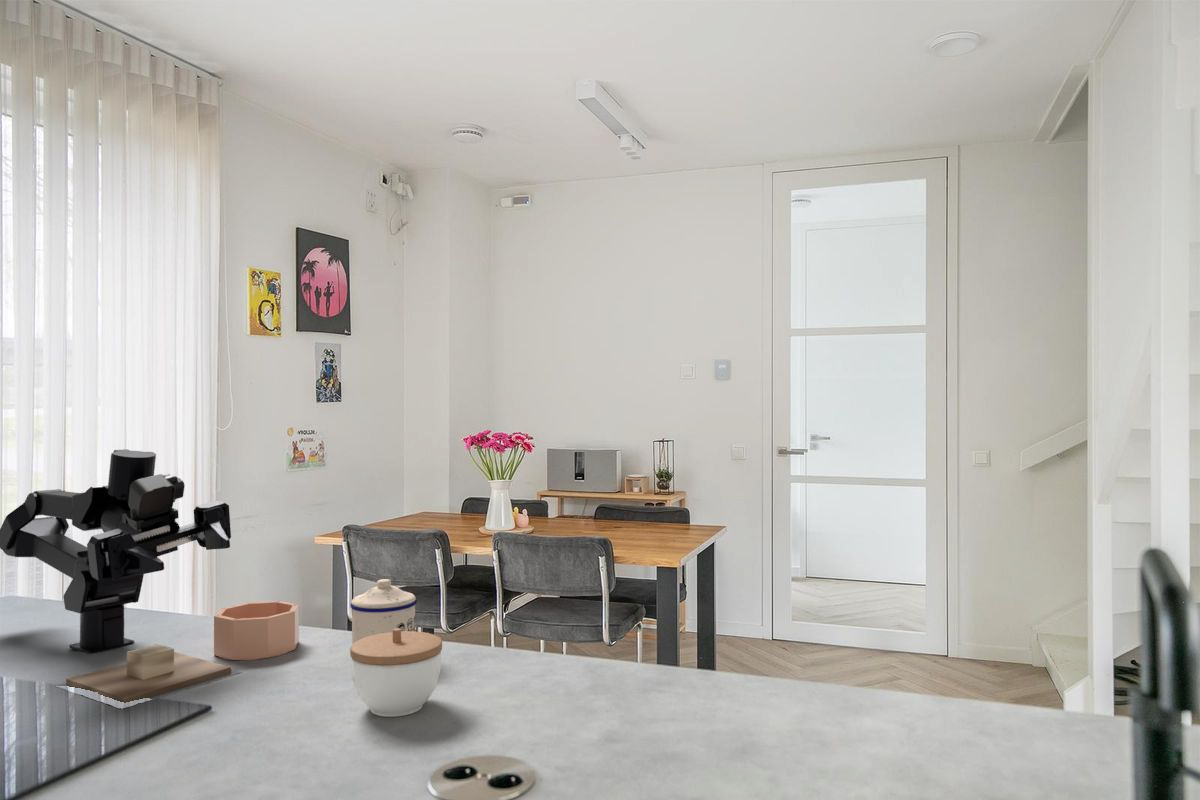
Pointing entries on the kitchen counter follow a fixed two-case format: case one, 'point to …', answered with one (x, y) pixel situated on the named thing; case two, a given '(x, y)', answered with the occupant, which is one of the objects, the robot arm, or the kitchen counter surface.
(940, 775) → the kitchen counter surface
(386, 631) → the teacup with lid
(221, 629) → the bowl
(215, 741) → the kitchen counter surface
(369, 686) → the lidded jar
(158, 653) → the cover
